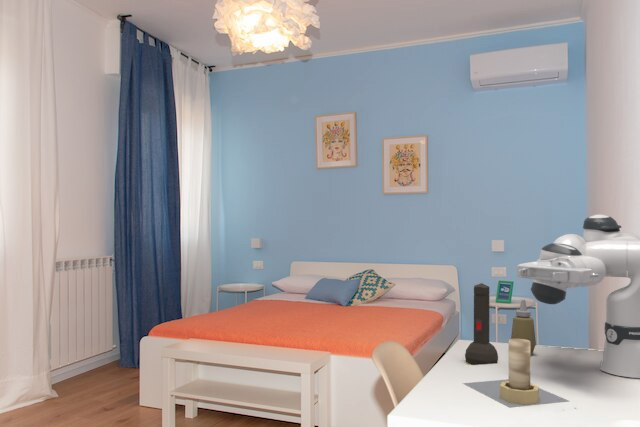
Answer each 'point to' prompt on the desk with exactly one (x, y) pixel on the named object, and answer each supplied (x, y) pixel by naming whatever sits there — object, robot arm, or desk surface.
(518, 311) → the squeeze bottle
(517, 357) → the ash peg
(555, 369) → the desk surface
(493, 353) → the flashlight
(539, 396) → the socket board
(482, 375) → the desk surface
